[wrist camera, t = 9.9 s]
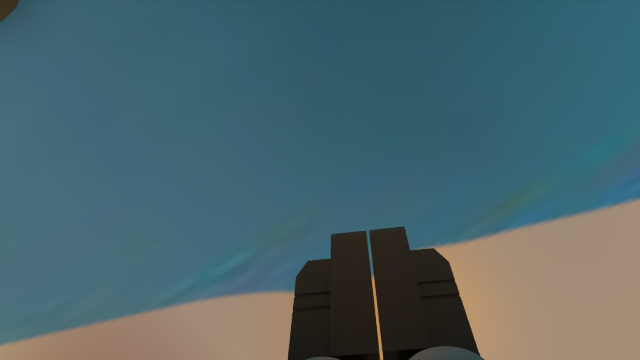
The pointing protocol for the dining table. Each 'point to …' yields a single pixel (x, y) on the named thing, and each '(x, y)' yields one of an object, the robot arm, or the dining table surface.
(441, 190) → the dining table surface
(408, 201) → the dining table surface
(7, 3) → the brown rounded upright piece
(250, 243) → the dining table surface
